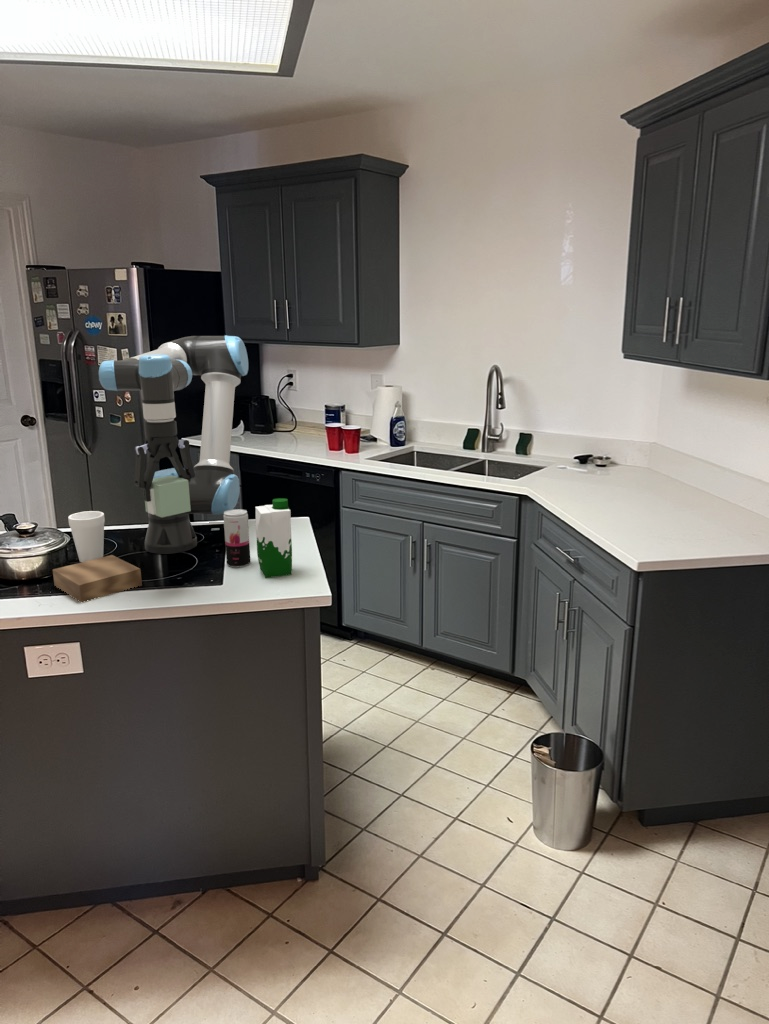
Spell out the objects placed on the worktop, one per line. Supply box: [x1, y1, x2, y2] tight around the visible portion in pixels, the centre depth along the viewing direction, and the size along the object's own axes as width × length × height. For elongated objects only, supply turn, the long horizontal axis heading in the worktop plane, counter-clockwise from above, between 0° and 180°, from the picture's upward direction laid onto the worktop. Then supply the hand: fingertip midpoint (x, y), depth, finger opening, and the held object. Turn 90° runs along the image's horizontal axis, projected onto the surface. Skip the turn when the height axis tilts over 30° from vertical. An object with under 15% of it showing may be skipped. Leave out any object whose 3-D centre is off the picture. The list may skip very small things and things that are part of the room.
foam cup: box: [67, 510, 106, 563], centre depth 213 cm, size 10×9×13 cm
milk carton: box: [254, 497, 293, 579], centre depth 200 cm, size 9×9×20 cm
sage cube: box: [144, 475, 191, 517], centre depth 188 cm, size 8×8×8 cm
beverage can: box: [222, 508, 251, 568], centre depth 208 cm, size 6×7×15 cm
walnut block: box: [52, 554, 143, 603], centre depth 194 cm, size 16×16×5 cm
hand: (168, 509), depth 189 cm, fingers closed on sage cube, 8 cm apart
